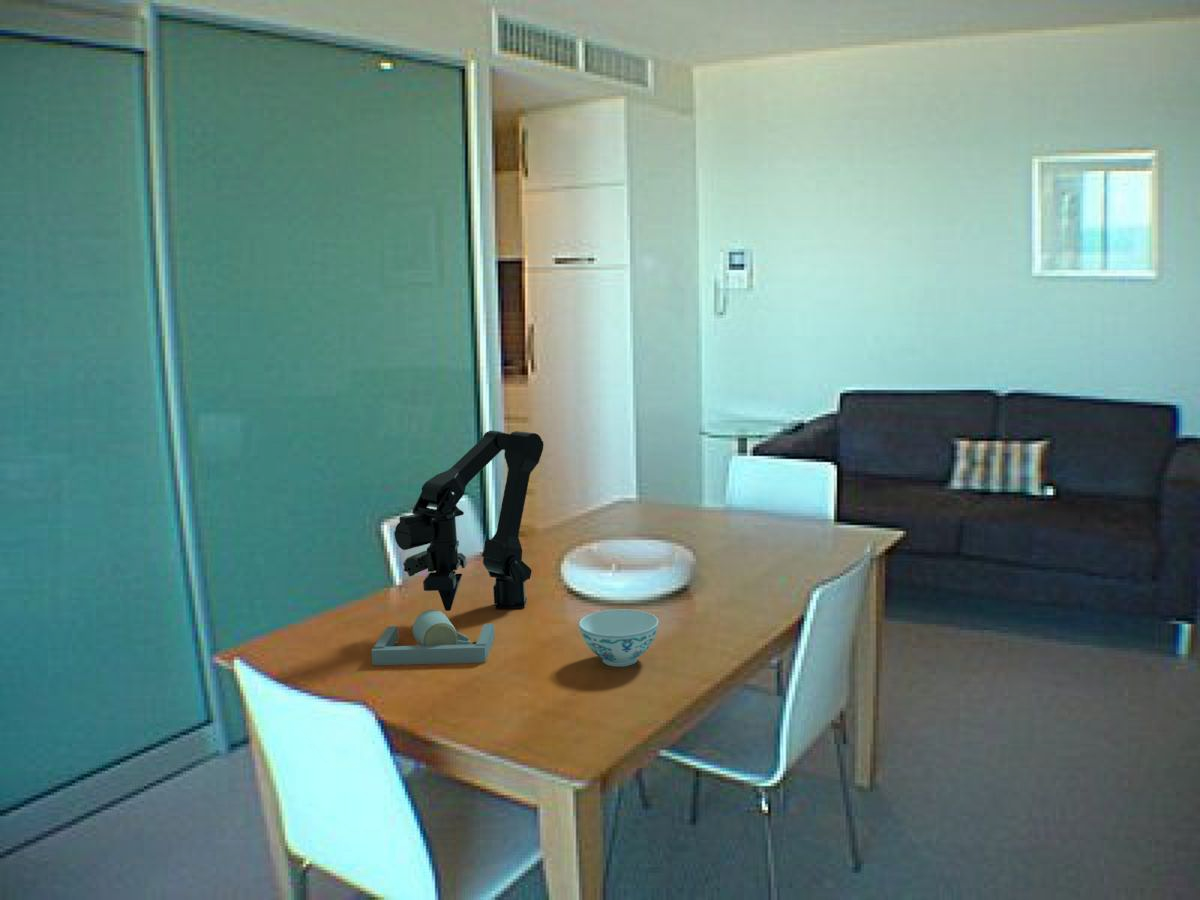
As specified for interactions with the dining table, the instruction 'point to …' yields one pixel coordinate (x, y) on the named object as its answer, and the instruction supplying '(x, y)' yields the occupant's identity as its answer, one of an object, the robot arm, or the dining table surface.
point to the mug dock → (431, 650)
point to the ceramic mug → (436, 630)
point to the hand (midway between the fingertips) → (448, 610)
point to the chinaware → (619, 634)
